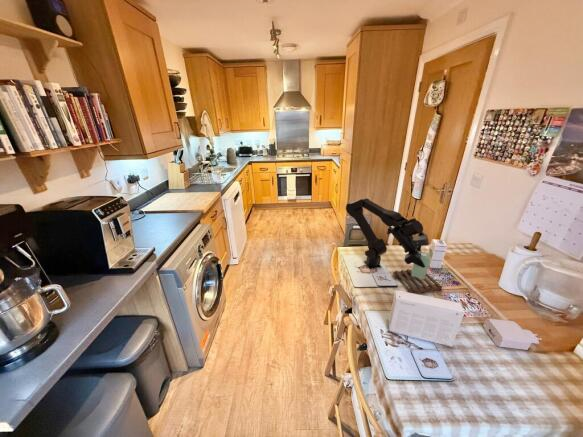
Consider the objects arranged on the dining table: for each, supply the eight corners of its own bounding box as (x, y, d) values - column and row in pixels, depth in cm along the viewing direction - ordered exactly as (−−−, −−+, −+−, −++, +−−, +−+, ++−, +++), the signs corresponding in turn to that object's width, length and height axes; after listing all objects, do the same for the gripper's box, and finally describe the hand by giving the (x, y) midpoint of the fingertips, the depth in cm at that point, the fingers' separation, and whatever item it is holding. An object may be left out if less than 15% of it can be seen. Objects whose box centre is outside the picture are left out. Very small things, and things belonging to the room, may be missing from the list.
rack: (410, 295, 104) (411, 290, 103) (392, 276, 116) (393, 271, 115) (441, 290, 107) (442, 285, 105) (420, 272, 119) (421, 267, 118)
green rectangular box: (411, 275, 109) (416, 255, 104) (411, 269, 113) (417, 249, 108) (424, 279, 106) (430, 258, 101) (424, 272, 111) (430, 252, 106)
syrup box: (440, 268, 122) (448, 245, 116) (428, 267, 123) (435, 244, 117) (437, 262, 127) (444, 239, 121) (425, 261, 128) (431, 238, 122)
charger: (547, 353, 78) (498, 347, 80) (526, 330, 87) (482, 326, 89) (553, 344, 76) (503, 338, 78) (531, 321, 85) (486, 317, 87)
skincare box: (448, 334, 85) (461, 302, 79) (452, 347, 81) (466, 314, 74) (387, 320, 92) (395, 288, 85) (388, 331, 87) (395, 299, 80)
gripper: (419, 238, 94) (443, 268, 94) (420, 221, 109) (440, 246, 109) (395, 250, 101) (417, 277, 101) (399, 232, 116) (418, 256, 116)
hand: (424, 263), depth 106 cm, fingers closed on green rectangular box, 5 cm apart
